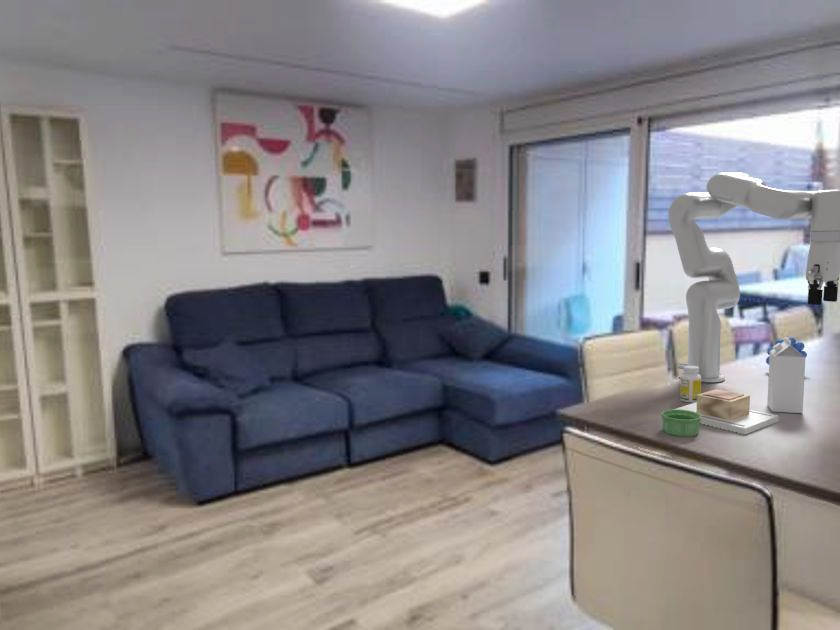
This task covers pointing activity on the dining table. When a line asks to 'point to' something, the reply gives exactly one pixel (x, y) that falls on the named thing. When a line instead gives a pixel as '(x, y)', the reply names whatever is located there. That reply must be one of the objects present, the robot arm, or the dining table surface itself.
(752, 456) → the dining table surface
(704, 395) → the oak plinth
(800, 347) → the grapes
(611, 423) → the dining table surface
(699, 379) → the supplement bottle
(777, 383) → the milk carton
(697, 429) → the ramekin
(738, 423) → the white cutting board
